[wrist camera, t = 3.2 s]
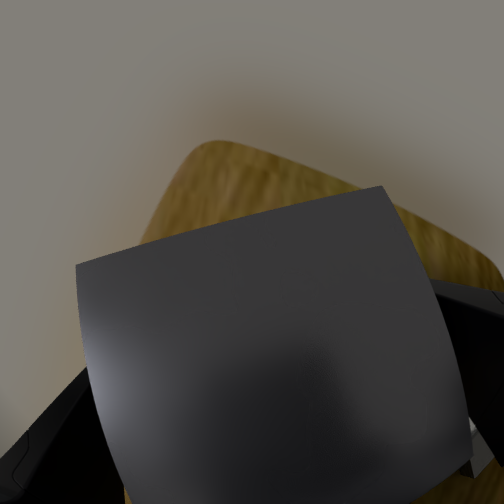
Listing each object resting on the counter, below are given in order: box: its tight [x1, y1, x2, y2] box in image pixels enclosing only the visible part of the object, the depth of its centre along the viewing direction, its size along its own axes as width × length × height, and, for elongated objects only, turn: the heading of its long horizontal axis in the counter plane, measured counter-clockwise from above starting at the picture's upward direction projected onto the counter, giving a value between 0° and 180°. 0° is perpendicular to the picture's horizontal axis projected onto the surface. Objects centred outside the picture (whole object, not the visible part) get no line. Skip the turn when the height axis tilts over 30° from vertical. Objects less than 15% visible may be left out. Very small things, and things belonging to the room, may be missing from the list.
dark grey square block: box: [76, 186, 474, 504], centre depth 8 cm, size 5×5×11 cm
